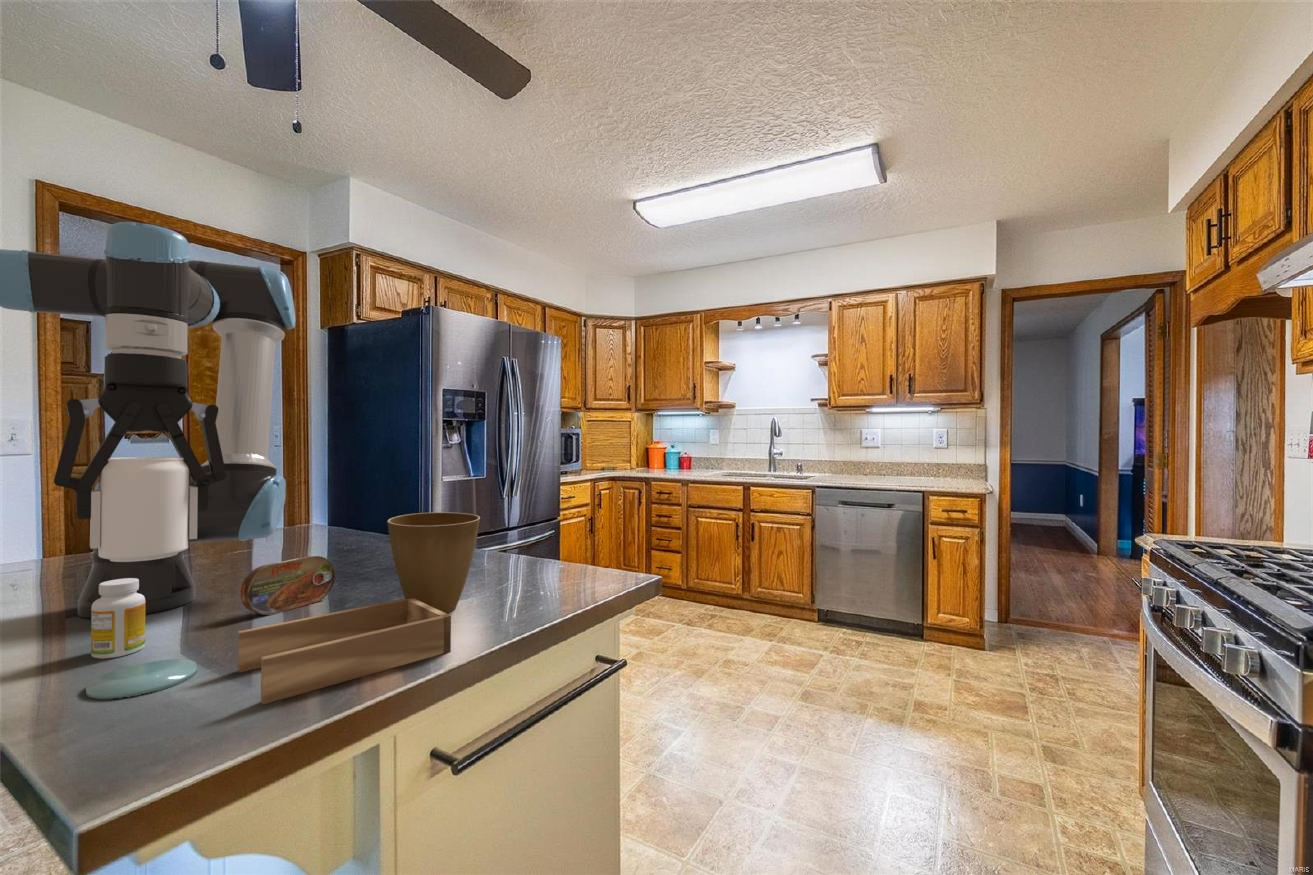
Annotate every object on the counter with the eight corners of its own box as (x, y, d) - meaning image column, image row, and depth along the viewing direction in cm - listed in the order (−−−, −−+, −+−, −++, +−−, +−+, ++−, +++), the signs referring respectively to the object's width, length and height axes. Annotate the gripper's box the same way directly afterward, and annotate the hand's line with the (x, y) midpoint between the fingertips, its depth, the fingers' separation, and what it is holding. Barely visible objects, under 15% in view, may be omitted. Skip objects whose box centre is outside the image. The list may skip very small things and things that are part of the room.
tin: (248, 621, 91) (248, 569, 91) (236, 618, 92) (237, 567, 92) (336, 598, 105) (336, 552, 105) (325, 595, 106) (325, 551, 106)
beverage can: (134, 565, 64) (135, 459, 64) (79, 561, 65) (80, 458, 66) (204, 551, 72) (206, 457, 72) (153, 548, 73) (155, 456, 73)
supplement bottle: (144, 642, 81) (144, 574, 81) (146, 652, 78) (146, 581, 78) (91, 651, 78) (91, 581, 78) (90, 663, 74) (91, 588, 74)
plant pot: (366, 616, 94) (366, 520, 94) (433, 594, 107) (434, 510, 107) (435, 629, 88) (436, 526, 88) (496, 603, 102) (497, 515, 102)
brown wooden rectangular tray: (237, 670, 72) (238, 631, 72) (410, 629, 88) (411, 597, 88) (263, 704, 63) (263, 659, 63) (450, 651, 79) (451, 615, 79)
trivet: (84, 680, 69) (84, 675, 69) (190, 657, 76) (190, 653, 76) (87, 708, 62) (87, 702, 62) (203, 680, 69) (203, 675, 69)
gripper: (16, 340, 59) (14, 559, 59) (257, 361, 74) (255, 535, 74) (20, 348, 64) (17, 549, 64) (244, 366, 79) (242, 529, 79)
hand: (145, 541), depth 69 cm, fingers closed on beverage can, 8 cm apart
